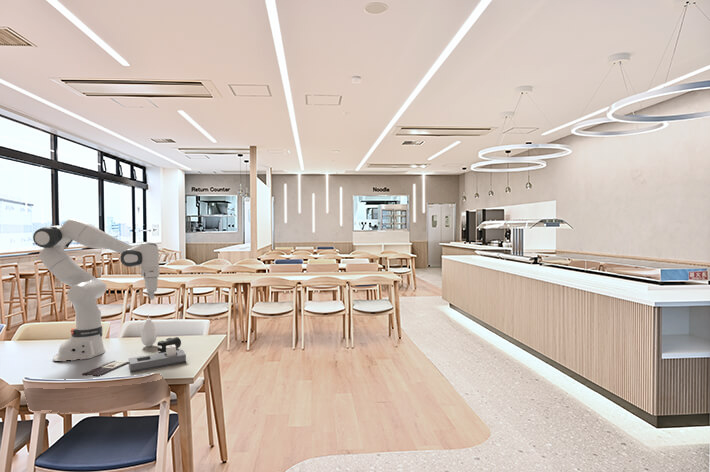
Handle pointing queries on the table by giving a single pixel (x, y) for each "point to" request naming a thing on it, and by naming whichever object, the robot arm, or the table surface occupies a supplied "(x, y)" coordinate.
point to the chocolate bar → (106, 368)
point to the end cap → (170, 341)
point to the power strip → (156, 361)
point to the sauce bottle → (148, 333)
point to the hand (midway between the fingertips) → (150, 298)
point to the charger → (170, 350)
